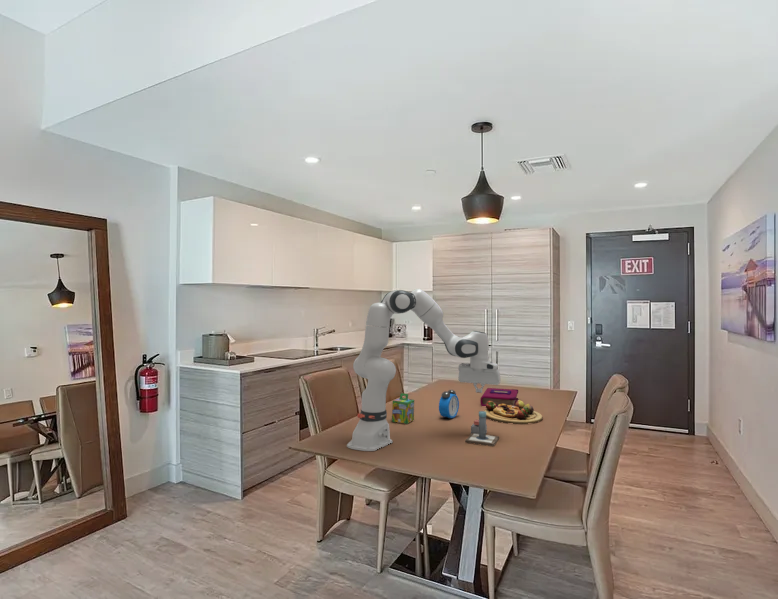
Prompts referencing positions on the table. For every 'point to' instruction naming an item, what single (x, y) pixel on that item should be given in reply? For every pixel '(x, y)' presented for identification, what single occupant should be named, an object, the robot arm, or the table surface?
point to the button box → (476, 429)
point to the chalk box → (403, 409)
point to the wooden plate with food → (512, 413)
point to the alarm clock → (448, 404)
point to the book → (499, 396)
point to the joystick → (482, 424)
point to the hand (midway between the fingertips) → (479, 392)
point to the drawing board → (488, 440)
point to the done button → (476, 422)
